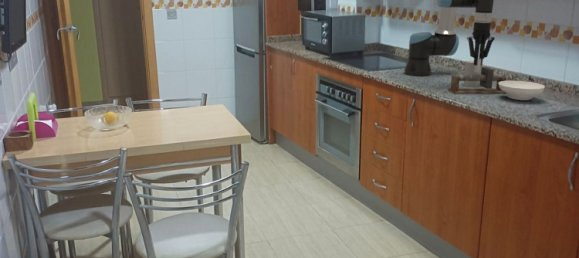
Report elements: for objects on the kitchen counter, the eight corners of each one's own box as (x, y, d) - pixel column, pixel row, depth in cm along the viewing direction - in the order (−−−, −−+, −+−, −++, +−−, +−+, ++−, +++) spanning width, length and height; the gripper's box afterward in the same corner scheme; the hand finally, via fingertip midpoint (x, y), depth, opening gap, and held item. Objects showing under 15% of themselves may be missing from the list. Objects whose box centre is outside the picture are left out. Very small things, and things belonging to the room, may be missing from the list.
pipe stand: (454, 93, 256) (456, 75, 254) (448, 90, 264) (449, 72, 261) (506, 93, 258) (509, 75, 256) (499, 90, 266) (501, 73, 264)
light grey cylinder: (481, 86, 274) (483, 63, 271) (464, 86, 276) (466, 62, 272) (478, 84, 282) (481, 61, 278) (462, 83, 283) (465, 60, 280)
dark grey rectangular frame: (486, 88, 257) (488, 69, 254) (479, 85, 264) (481, 67, 262) (491, 88, 257) (493, 69, 254) (484, 85, 265) (486, 67, 262)
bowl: (519, 105, 234) (521, 90, 233) (487, 96, 252) (489, 82, 250) (552, 102, 242) (554, 87, 240) (518, 93, 259) (520, 79, 257)
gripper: (472, 22, 248) (467, 73, 254) (499, 22, 249) (493, 73, 255) (465, 21, 255) (460, 70, 261) (492, 21, 256) (486, 70, 263)
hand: (476, 72), depth 258 cm, fingers closed
